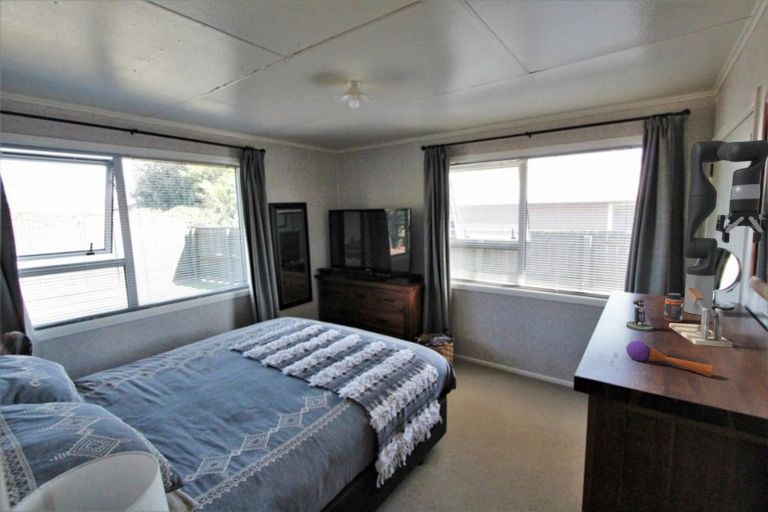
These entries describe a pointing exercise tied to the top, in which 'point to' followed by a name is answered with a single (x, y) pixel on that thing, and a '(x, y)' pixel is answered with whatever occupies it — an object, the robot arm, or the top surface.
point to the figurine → (639, 318)
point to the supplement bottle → (673, 308)
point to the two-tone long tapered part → (664, 358)
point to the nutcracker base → (704, 330)
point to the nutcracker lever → (700, 301)
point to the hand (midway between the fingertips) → (740, 242)
